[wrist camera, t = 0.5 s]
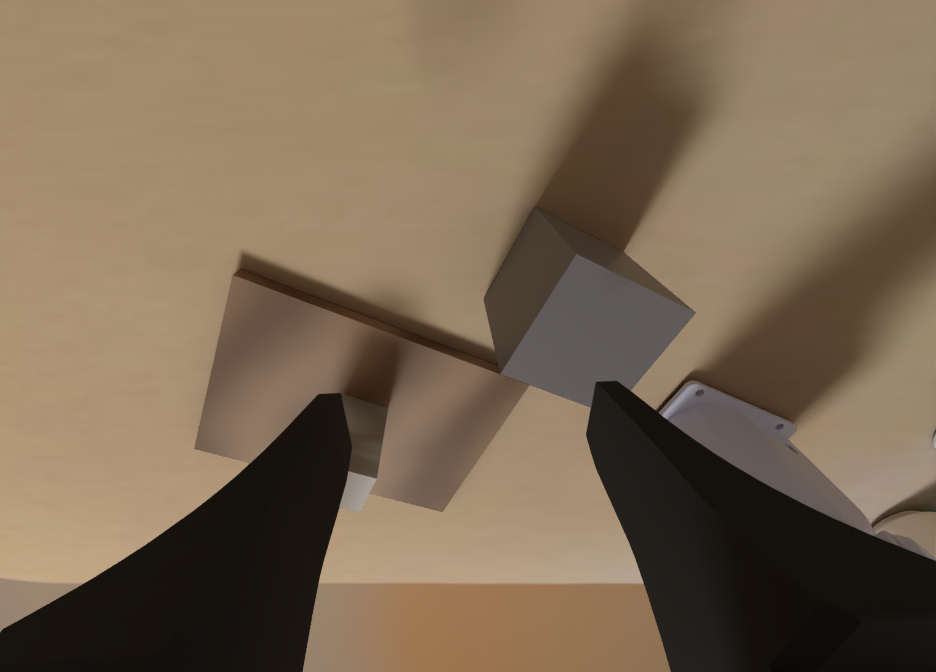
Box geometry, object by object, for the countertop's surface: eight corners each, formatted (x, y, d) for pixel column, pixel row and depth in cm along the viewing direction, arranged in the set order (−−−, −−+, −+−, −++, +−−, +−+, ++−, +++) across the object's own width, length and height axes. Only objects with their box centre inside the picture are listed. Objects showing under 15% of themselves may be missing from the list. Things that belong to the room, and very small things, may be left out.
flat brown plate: (526, 376, 24) (550, 451, 19) (442, 502, 29) (443, 586, 24) (240, 268, 19) (171, 328, 14) (201, 438, 25) (140, 525, 20)
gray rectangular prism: (623, 252, 20) (696, 312, 15) (566, 334, 22) (610, 414, 17) (534, 206, 19) (576, 253, 13) (483, 299, 21) (500, 373, 15)
